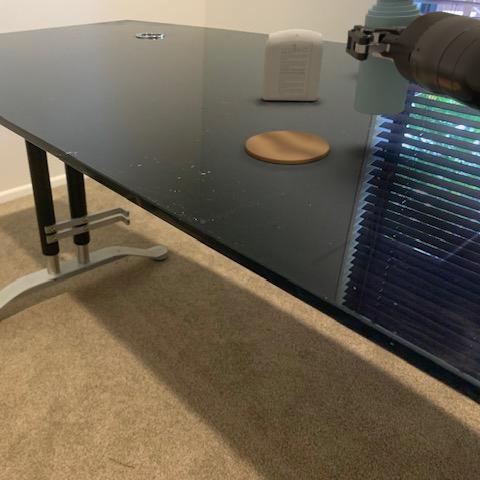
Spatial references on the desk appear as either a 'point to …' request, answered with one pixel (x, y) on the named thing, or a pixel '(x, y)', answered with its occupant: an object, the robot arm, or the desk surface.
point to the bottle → (383, 63)
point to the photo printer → (292, 65)
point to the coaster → (287, 147)
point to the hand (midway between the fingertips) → (382, 31)
